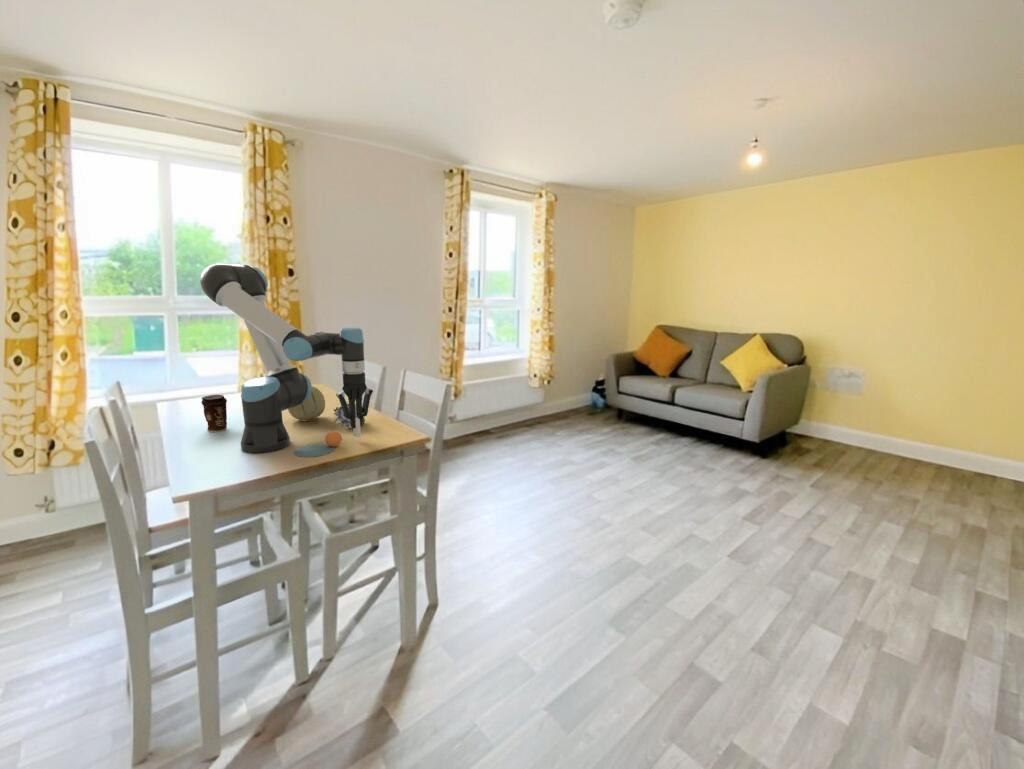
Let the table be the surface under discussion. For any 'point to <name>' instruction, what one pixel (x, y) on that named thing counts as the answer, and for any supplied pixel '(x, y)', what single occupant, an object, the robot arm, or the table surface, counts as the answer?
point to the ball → (333, 438)
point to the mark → (313, 450)
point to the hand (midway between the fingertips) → (357, 435)
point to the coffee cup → (215, 412)
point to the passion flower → (342, 418)
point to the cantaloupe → (309, 407)
